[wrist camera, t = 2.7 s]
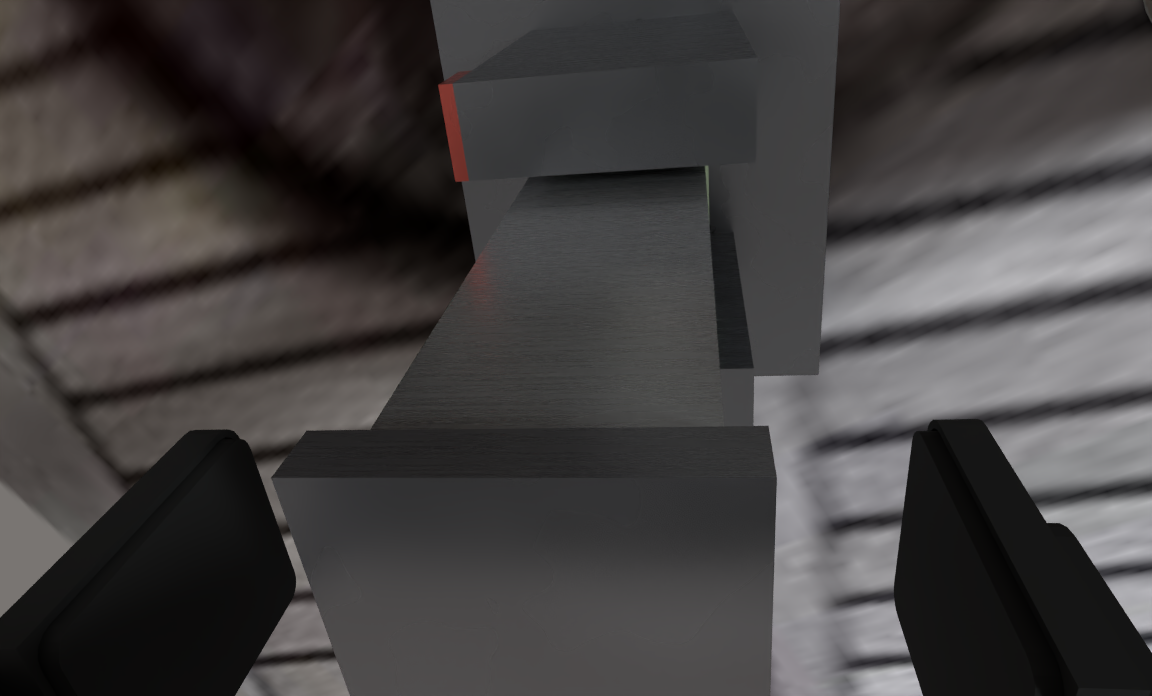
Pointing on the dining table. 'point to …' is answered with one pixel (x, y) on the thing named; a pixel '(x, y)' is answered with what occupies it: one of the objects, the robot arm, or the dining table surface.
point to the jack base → (665, 138)
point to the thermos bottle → (1148, 8)
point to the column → (553, 472)
